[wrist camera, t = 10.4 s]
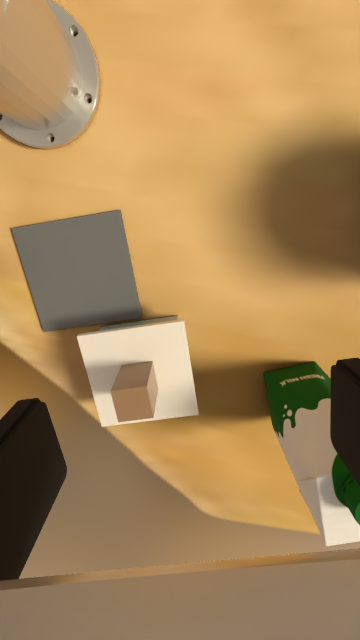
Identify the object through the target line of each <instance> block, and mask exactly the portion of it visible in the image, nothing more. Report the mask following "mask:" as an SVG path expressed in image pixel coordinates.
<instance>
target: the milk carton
mask: <svg viewBox="0 0 360 640" xmlns="http://www.w3.org/2000/svg"><path fill="white" fill-rule="evenodd" d="M264 379H265V385H266V391H267V397H268V403H269V409H270V415H271V420H272V425H273V428H274V431H275V433H276V436H277V438H278V440H279V443H280V445H281V447H282V450H283V452H284V454H285V457H286V459H287V461H288V464H289V466H290V468H291V471H292V473H293V475H294V477H295V480H296V482H297V484H298V486H299V490H300V493H301V495H302V497H303V499H304V500H305V502H306V504H307V505H308V507H309V509H310V511H311V514H312V516H313V518H314V520H315V522H316V525H317V527H318V529H319V531H320V533H321V536H322V538H323V540H324V543H325V545H326V546H331V545H337V544H344V543H350V542H356V541H360V486H359V485H358V483H357V482H356V480H355V479H354V477H353V476H352V474H351V473H350V471H349V470H348V468H347V467H346V465H345V464H344V462H343V461H342V459H341V458H340V456H339V455H338V453H337V452H336V450H335V449H334V447H333V445H332V442H331V438H330V409H331V379H330V378H329V377H328V375H327V374H326V373H325V372H324V371H323V370H322V369H321V368H320V367H319V366H318V365H317V364H316V362H311V363H306V364H302V365H297V366H292V367H288V368H283V369H279V370H274V371H269V372H265V373H264Z"/></svg>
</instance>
